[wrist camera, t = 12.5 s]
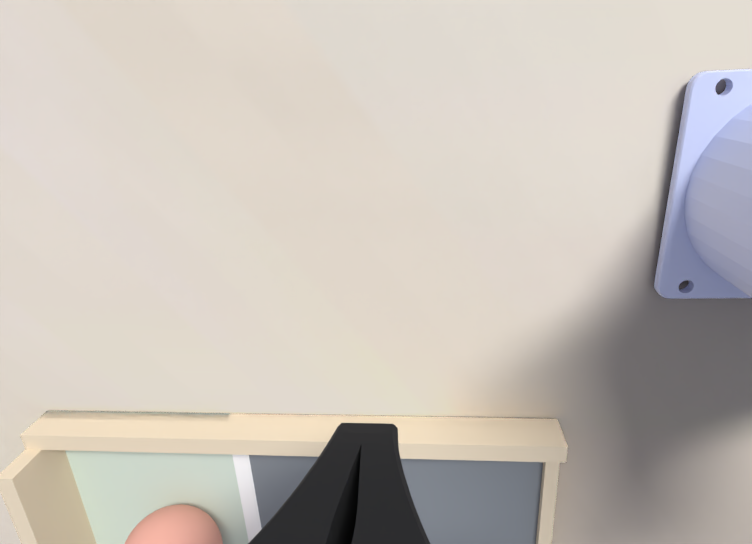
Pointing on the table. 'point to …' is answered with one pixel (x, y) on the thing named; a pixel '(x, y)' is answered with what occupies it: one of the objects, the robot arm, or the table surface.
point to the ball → (176, 527)
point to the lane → (272, 473)
